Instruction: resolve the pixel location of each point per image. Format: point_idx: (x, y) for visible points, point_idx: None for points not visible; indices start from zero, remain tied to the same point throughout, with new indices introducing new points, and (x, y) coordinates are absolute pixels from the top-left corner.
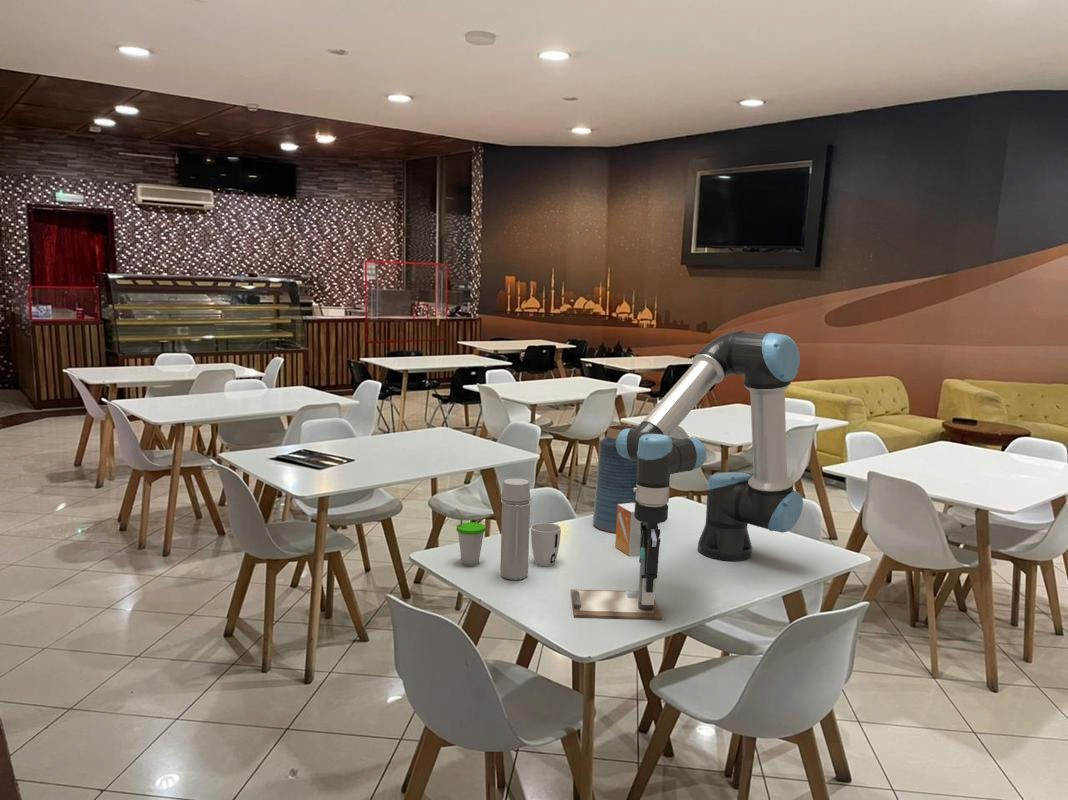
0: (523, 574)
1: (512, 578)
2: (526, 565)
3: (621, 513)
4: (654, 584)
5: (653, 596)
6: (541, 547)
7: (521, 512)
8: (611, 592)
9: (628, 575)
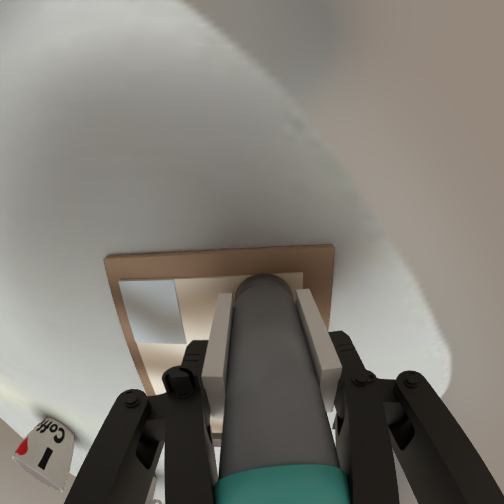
0: None
1: (155, 478)
2: None
3: None
4: (332, 344)
5: (317, 310)
6: (68, 466)
7: None
8: (157, 376)
9: (22, 303)
